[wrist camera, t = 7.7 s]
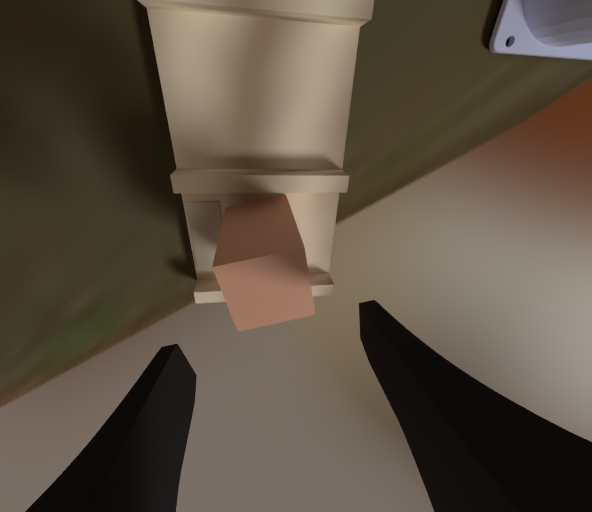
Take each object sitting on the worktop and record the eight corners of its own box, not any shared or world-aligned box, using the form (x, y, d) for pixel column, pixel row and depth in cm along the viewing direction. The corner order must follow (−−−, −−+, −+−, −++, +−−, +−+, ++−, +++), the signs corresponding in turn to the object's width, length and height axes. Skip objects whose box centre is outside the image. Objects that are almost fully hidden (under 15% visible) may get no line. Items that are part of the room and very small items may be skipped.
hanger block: (286, 195, 17) (304, 247, 11) (296, 247, 19) (315, 314, 13) (225, 207, 17) (211, 267, 11) (242, 258, 19) (237, 331, 13)
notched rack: (391, -294, 10) (430, -405, 7) (324, 276, 22) (332, 295, 20) (84, -377, 8) (24, -545, 6) (201, 282, 21) (195, 303, 19)
